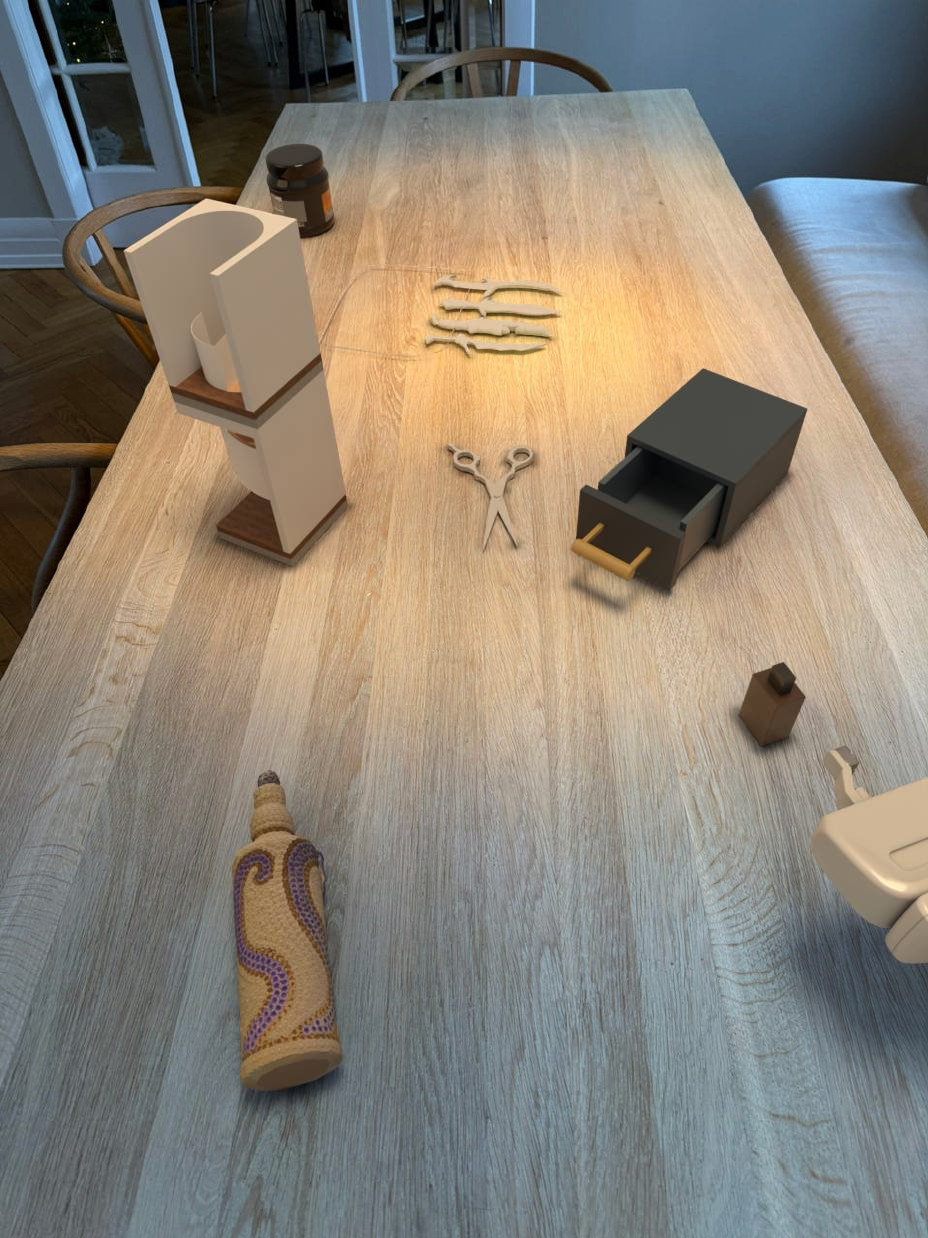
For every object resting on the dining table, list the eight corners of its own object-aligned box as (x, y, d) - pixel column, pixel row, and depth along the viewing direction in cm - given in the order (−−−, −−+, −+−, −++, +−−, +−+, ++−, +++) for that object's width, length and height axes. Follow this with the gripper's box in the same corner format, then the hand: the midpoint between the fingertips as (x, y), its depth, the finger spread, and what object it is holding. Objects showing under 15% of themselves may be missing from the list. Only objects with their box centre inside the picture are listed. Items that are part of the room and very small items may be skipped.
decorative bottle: (353, 1076, 65) (339, 1051, 60) (251, 1101, 65) (228, 1077, 60) (319, 779, 82) (306, 740, 77) (237, 796, 81) (219, 757, 76)
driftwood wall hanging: (547, 371, 124) (547, 364, 123) (311, 351, 129) (310, 344, 129) (570, 280, 140) (571, 273, 139) (360, 265, 146) (359, 259, 145)
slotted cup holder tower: (277, 481, 111) (206, 198, 84) (348, 506, 107) (296, 218, 81) (220, 538, 104) (123, 250, 78) (293, 566, 101) (217, 275, 74)
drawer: (644, 619, 92) (654, 567, 86) (549, 566, 98) (551, 514, 92) (740, 514, 102) (754, 461, 96) (649, 472, 108) (657, 419, 102)
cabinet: (719, 548, 100) (736, 483, 93) (618, 499, 106) (627, 435, 99) (787, 473, 108) (807, 408, 101) (690, 432, 114) (702, 367, 107)
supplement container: (341, 212, 159) (331, 142, 150) (327, 240, 152) (316, 168, 143) (285, 210, 161) (272, 140, 151) (268, 238, 154) (254, 166, 145)
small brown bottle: (788, 737, 83) (812, 683, 77) (761, 747, 83) (782, 693, 76) (765, 705, 86) (786, 650, 79) (738, 714, 85) (757, 659, 79)
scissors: (530, 437, 113) (547, 545, 100) (530, 442, 114) (547, 550, 100) (448, 442, 113) (454, 550, 100) (448, 447, 114) (454, 555, 100)
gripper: (1173, 824, 57) (1017, 668, 66) (910, 933, 53) (780, 751, 62) (1121, 867, 62) (982, 716, 71) (877, 971, 58) (760, 797, 67)
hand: (886, 733), depth 66 cm, fingers open, 8 cm apart
